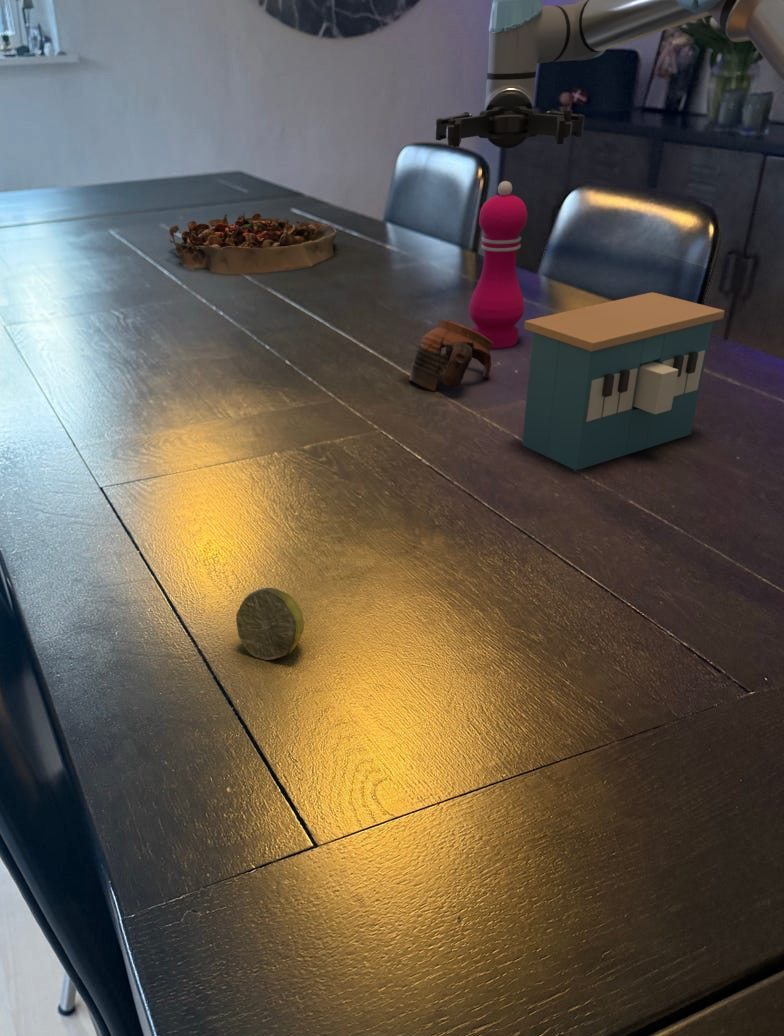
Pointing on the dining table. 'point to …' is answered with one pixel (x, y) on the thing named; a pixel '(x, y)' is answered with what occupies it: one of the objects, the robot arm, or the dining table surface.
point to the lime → (269, 623)
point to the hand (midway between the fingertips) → (508, 134)
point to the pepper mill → (499, 269)
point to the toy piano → (612, 376)
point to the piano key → (655, 387)
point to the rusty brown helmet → (449, 355)
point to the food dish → (253, 245)
